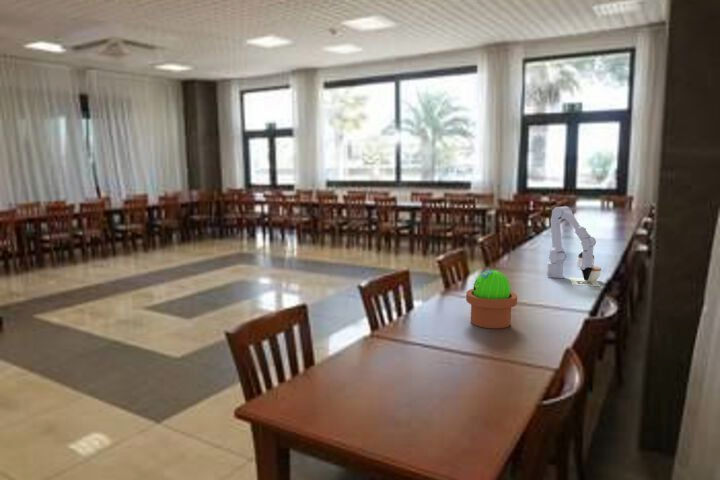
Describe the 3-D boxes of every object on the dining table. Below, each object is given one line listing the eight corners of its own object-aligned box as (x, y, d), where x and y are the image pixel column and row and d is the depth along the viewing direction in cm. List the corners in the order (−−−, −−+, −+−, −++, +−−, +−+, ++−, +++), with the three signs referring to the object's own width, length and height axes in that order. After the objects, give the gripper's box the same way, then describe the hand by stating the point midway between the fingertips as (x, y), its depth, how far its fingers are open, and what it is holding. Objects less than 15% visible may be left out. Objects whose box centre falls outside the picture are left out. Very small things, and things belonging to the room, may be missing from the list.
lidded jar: (603, 282, 316) (604, 266, 314) (585, 281, 316) (586, 266, 314) (595, 278, 326) (596, 263, 325) (578, 278, 326) (579, 263, 325)
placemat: (573, 284, 310) (573, 284, 310) (568, 277, 328) (568, 277, 328) (600, 286, 306) (600, 285, 306) (594, 279, 324) (594, 278, 324)
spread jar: (591, 266, 364) (592, 249, 362) (596, 269, 353) (598, 252, 351) (573, 265, 365) (574, 249, 363) (578, 269, 354) (579, 252, 352)
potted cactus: (506, 315, 250) (509, 263, 246) (522, 330, 228) (525, 274, 224) (460, 316, 249) (462, 264, 245) (472, 331, 227) (474, 274, 223)
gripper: (589, 260, 305) (588, 282, 307) (599, 256, 315) (597, 278, 318) (577, 258, 310) (576, 281, 312) (587, 255, 320) (585, 277, 322)
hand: (586, 279), depth 315 cm, fingers closed
